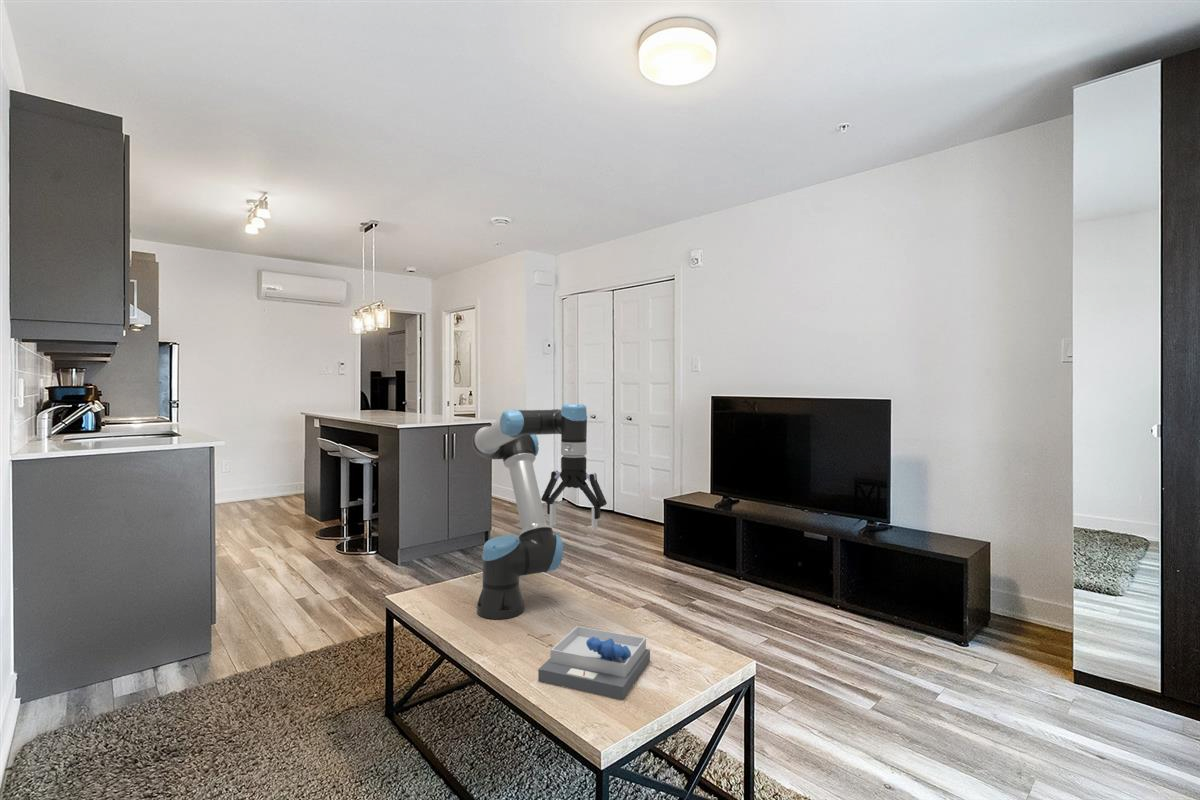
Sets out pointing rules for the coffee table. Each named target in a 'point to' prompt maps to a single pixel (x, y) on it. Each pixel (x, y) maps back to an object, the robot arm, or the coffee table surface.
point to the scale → (595, 664)
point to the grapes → (608, 649)
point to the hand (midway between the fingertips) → (573, 527)
